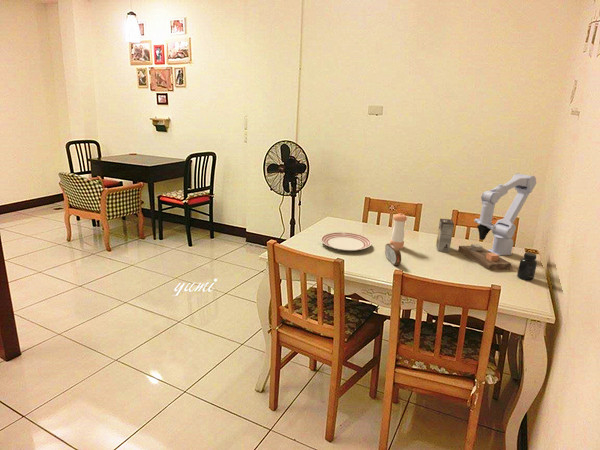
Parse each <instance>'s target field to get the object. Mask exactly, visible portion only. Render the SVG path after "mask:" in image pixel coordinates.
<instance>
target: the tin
mask: <svg viewBox="0 0 600 450" xmlns="http://www.w3.org/2000/svg"><path fill="white" fill-rule="evenodd" d="M384 249H385V251H384V255H385V257H386V259H387V260H388V261H389V262H390V263H391V265H393V266H400V265H401V263H402V253H401V249H398V248H397V247H396V246H395V245H394V244H393V243H390V242H389V243H386V244H385V248H384Z"/></svg>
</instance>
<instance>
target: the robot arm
mask: <svg viewBox="0 0 600 450" xmlns="http://www.w3.org/2000/svg"><path fill="white" fill-rule="evenodd" d="M536 184H537V178H536V176H534V175H528V174H523V173H519V172H518V173H515V174H514V175H513V176H512V177H511V179H510V180H509V181H507V182H506V183H504V184H502V183H499V184H497V186H495V187H494V188H492V189H490V190H485V191H483V193H482V195H481V196H480V199H481V209H480V216H479V218H474V222H473V223H476V224H477V225H476V227H477V230H478V237H479V238H478V239H479V240H482V241H484V240H485V239H486V238H487V235H488V234H489V233H490V232H491V233H492V234H493V242H492V247H491V249H490V248H489V249H488V248H487V250H488V251H490V252H491V253H495V254H497V255H499V256H512V255H513V253H512V251H513V248H514V247H513V246H514V239H513V237H514V235H515V231H516V229H517V227H516V225H515V223H514V222H515V220H516V219H517V217H518V215H519V213H520V211H521V210H522V208H523V206H524V204H525V203H526V200H527V199H528V197H529V195H530V194H531V193H532V192H533V190H534V188H535V187H536ZM513 188H514V189H515V191H516V192H517V193H516V195H515V196H514V199H512V202H511V204H510V206H509V208H508V209H507V211H506V213H505V215H504V217H503V218H501V219H498V220H497V221H496V223H492V220H493V217H494V212H495V208H496V207H495V206H496V204H498V202H499V200H500V199H501V198H502V197H503V196H505V195H507V194H508V192H509V190H511V189H513Z"/></svg>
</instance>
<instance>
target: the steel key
mask: <svg viewBox="0 0 600 450" xmlns="http://www.w3.org/2000/svg"><path fill="white" fill-rule="evenodd" d="M470 246H471V250H473V251H475V252H481V251H482V248H484V247H483V246H482V245H481V244H478V243H473V244H472V243H471V245H470Z"/></svg>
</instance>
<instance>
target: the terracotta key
mask: <svg viewBox="0 0 600 450" xmlns="http://www.w3.org/2000/svg"><path fill="white" fill-rule="evenodd" d="M499 257H500V255H497V254H495V253H492V252H491V253H487V254H486V259H488V260H490V261H498V259H499Z"/></svg>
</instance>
